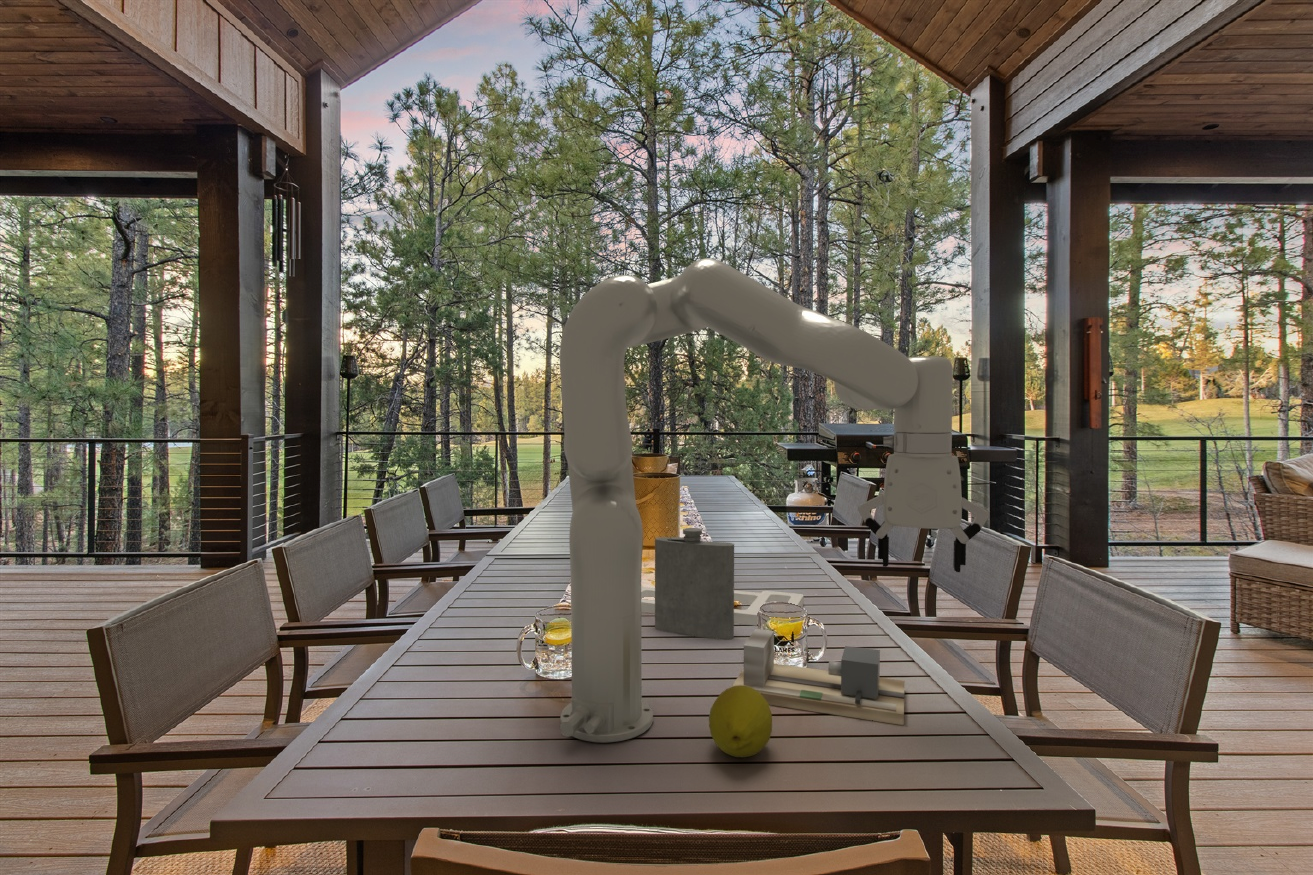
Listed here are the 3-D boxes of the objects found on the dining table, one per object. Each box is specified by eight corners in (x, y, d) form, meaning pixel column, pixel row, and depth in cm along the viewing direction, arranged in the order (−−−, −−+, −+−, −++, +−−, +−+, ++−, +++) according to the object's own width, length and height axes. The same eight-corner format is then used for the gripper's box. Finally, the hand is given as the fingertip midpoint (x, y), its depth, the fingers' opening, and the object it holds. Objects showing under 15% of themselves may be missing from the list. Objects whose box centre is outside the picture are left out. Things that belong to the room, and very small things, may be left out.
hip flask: (736, 635, 128) (736, 529, 127) (729, 642, 124) (729, 533, 123) (659, 624, 134) (659, 523, 134) (650, 630, 131) (650, 527, 130)
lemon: (722, 728, 91) (722, 669, 90) (780, 739, 88) (781, 679, 87) (695, 768, 81) (695, 702, 81) (759, 782, 78) (759, 714, 77)
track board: (903, 725, 92) (904, 670, 91) (730, 698, 100) (730, 648, 100) (904, 690, 103) (905, 641, 103) (748, 669, 111) (748, 624, 111)
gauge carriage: (876, 708, 93) (877, 672, 92) (823, 701, 95) (824, 666, 95) (879, 682, 101) (879, 650, 101) (831, 676, 104) (831, 644, 103)
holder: (581, 607, 147) (581, 595, 147) (615, 586, 164) (615, 575, 164) (789, 632, 131) (789, 618, 131) (803, 606, 148) (803, 594, 148)
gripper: (856, 446, 95) (854, 568, 95) (994, 448, 89) (991, 578, 89) (859, 443, 102) (858, 557, 102) (988, 445, 96) (985, 566, 96)
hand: (920, 567), depth 96 cm, fingers open, 9 cm apart
